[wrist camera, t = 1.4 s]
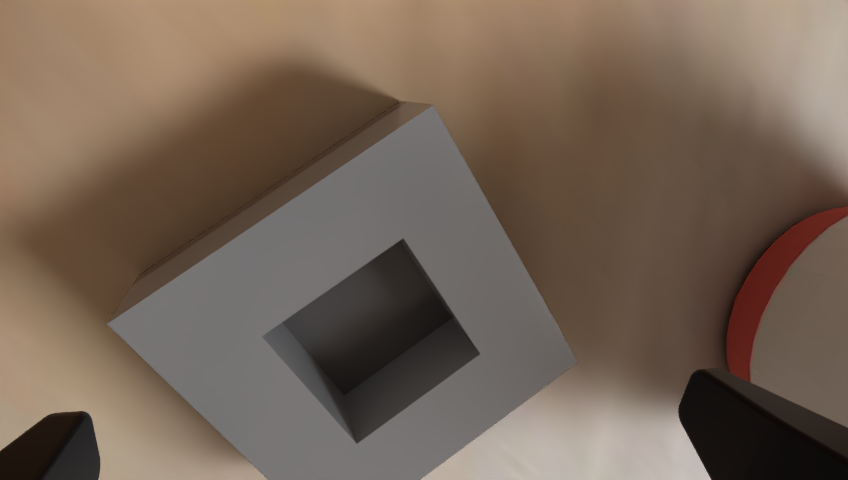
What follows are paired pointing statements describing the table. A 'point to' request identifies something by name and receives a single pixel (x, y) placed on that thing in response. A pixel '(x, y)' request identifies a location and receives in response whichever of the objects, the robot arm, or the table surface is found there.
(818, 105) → the table surface
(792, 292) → the citrus juicer
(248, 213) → the socket block
